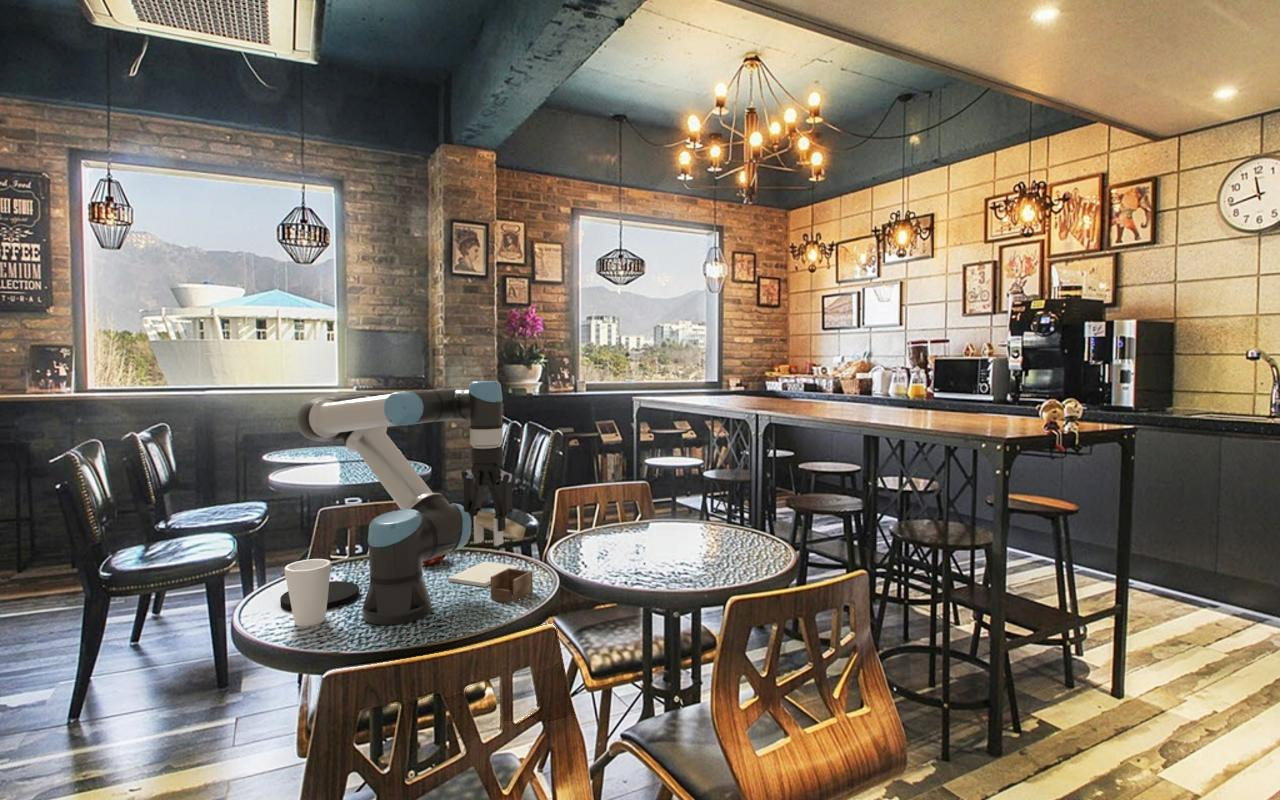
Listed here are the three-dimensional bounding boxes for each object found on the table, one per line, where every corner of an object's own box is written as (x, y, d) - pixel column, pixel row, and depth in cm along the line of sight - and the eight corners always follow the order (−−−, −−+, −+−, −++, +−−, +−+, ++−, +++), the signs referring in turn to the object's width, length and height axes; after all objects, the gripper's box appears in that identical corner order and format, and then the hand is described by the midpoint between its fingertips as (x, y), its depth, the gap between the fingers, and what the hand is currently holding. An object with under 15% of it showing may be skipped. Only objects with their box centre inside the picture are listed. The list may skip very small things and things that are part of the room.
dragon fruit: (439, 561, 206) (431, 579, 195) (415, 546, 205) (405, 564, 193) (455, 539, 206) (448, 556, 194) (431, 524, 204) (422, 540, 192)
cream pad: (484, 587, 178) (484, 583, 177) (448, 581, 182) (448, 577, 182) (519, 569, 192) (519, 566, 192) (484, 564, 197) (484, 561, 197)
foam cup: (321, 610, 162) (319, 556, 161) (340, 619, 156) (338, 563, 155) (279, 622, 154) (277, 566, 154) (298, 632, 149) (295, 573, 148)
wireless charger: (370, 588, 178) (370, 581, 178) (339, 613, 161) (339, 605, 160) (303, 588, 179) (303, 581, 179) (265, 613, 161) (265, 605, 161)
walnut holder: (513, 603, 165) (512, 581, 165) (488, 599, 168) (488, 577, 168) (532, 592, 173) (532, 571, 172) (509, 589, 176) (508, 568, 175)
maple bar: (492, 525, 159) (495, 512, 160) (474, 523, 161) (478, 511, 162) (522, 539, 170) (525, 527, 172) (506, 537, 173) (509, 526, 174)
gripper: (527, 445, 160) (529, 543, 162) (466, 442, 168) (468, 535, 169) (509, 449, 153) (511, 551, 155) (445, 446, 161) (448, 543, 162)
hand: (488, 542), depth 162 cm, fingers closed on maple bar, 5 cm apart
